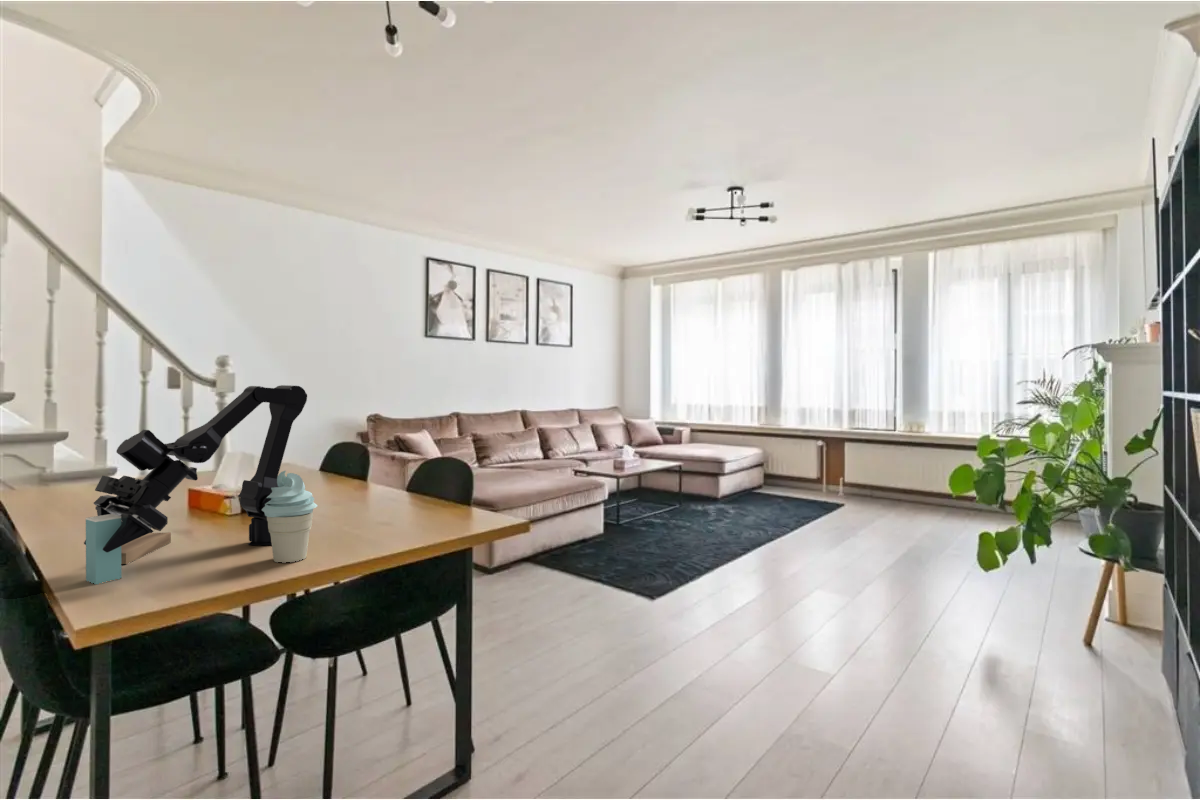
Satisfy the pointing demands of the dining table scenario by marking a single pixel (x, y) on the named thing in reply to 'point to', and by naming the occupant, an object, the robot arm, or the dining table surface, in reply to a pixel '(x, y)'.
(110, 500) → the robot arm
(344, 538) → the dining table surface
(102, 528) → the teal block
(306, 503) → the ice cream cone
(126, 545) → the walnut strip
